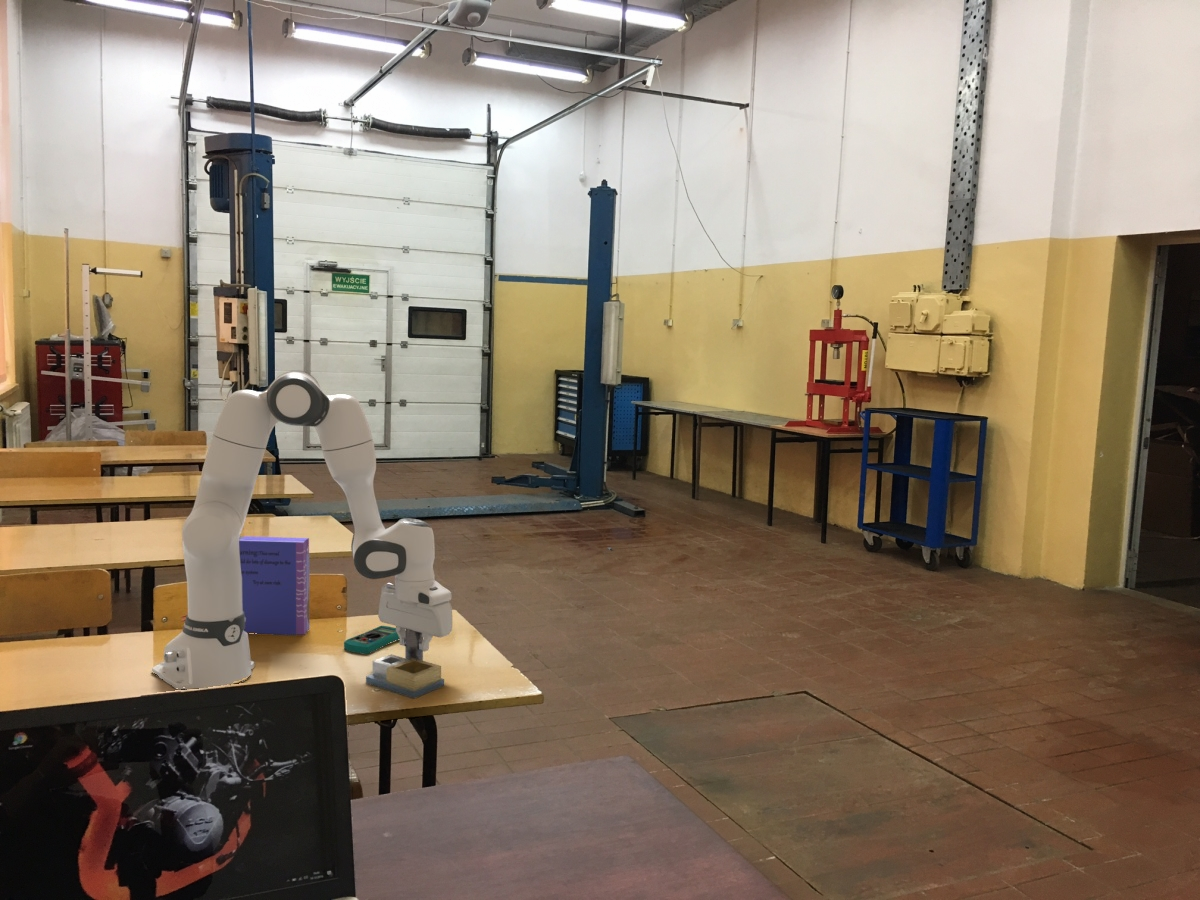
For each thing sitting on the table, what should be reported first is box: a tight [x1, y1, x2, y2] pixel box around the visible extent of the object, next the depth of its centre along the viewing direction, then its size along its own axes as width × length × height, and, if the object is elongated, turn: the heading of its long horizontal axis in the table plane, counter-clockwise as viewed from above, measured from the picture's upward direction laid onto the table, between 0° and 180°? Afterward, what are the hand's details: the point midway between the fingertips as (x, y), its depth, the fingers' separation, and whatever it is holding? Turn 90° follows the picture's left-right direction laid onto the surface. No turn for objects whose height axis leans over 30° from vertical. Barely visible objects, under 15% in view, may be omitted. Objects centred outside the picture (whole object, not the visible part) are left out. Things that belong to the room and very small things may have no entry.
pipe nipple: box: [404, 628, 424, 661], centre depth 220 cm, size 4×4×9 cm
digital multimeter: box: [343, 625, 400, 655], centre depth 234 cm, size 7×15×3 cm, turn 154°
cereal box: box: [239, 535, 311, 636], centre depth 240 cm, size 17×5×24 cm, turn 91°
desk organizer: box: [365, 654, 445, 699], centre depth 208 cm, size 14×9×4 cm, turn 57°
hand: (414, 647), depth 220 cm, fingers open, 5 cm apart
